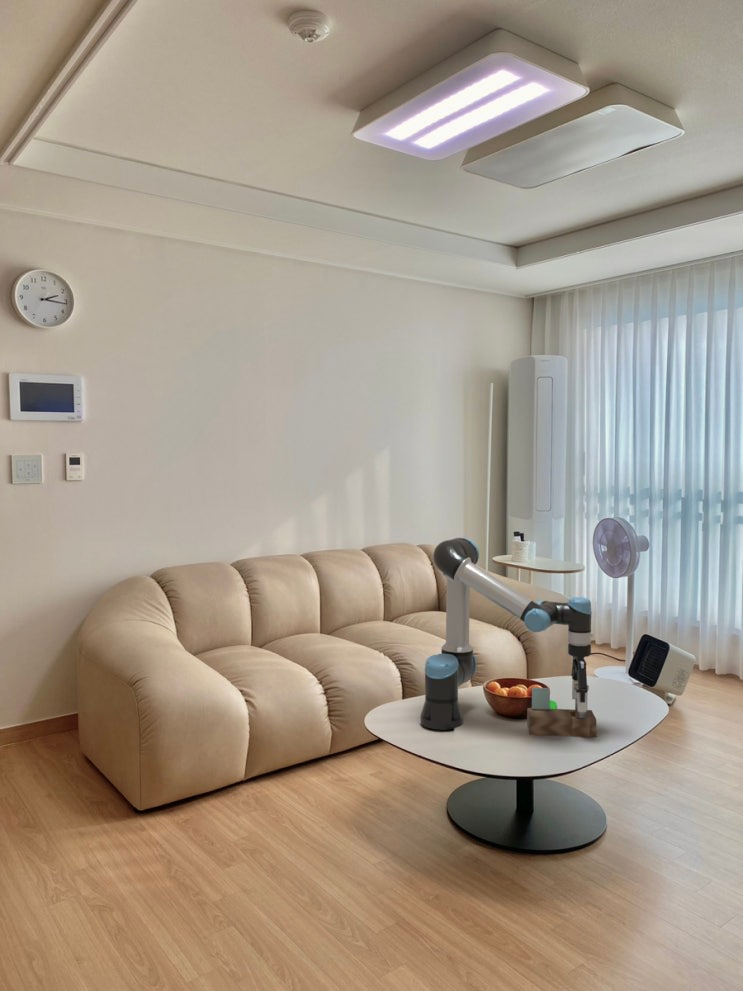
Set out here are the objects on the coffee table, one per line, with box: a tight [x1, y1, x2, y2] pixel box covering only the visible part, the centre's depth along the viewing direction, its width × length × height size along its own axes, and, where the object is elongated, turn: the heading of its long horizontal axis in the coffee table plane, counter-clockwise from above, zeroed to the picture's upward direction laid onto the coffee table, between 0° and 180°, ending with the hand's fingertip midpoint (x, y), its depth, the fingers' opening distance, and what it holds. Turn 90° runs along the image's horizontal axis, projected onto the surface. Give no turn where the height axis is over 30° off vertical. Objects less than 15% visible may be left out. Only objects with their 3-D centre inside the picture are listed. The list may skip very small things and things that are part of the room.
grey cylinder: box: [574, 684, 590, 718], centre depth 266 cm, size 5×5×10 cm
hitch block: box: [526, 707, 597, 738], centre depth 271 cm, size 22×10×6 cm, turn 83°
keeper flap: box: [530, 687, 551, 710], centre depth 275 cm, size 6×1×8 cm, turn 83°
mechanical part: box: [550, 699, 557, 709], centre depth 295 cm, size 12×6×8 cm, turn 166°
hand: (578, 705), depth 270 cm, fingers open, 13 cm apart
